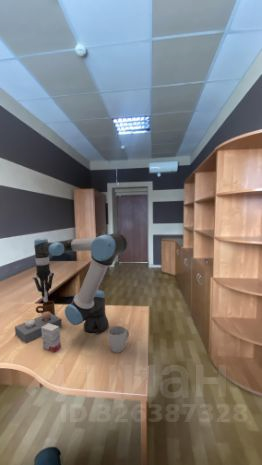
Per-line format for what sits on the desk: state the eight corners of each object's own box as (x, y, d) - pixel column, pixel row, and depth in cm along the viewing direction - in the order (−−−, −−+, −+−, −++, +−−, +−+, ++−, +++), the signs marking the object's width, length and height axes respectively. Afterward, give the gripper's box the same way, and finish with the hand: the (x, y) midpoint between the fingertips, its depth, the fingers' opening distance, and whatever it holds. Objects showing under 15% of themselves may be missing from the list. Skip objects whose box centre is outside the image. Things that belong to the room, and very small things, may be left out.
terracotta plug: (52, 324, 134) (51, 312, 134) (45, 327, 131) (44, 316, 130) (48, 321, 138) (47, 310, 137) (41, 325, 134) (40, 313, 133)
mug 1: (37, 322, 141) (36, 308, 140) (35, 317, 147) (34, 304, 146) (56, 316, 147) (55, 303, 146) (53, 312, 154) (52, 300, 153)
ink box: (61, 347, 113) (60, 326, 112) (53, 353, 109) (52, 330, 108) (49, 343, 117) (48, 322, 116) (42, 348, 113) (40, 326, 112)
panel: (61, 326, 134) (61, 319, 134) (25, 343, 118) (25, 334, 117) (50, 319, 143) (49, 312, 143) (15, 334, 127) (14, 326, 126)
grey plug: (37, 332, 127) (36, 320, 126) (28, 336, 123) (27, 324, 122) (33, 330, 130) (32, 318, 129) (24, 333, 126) (23, 321, 126)
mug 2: (117, 356, 104) (116, 337, 104) (105, 349, 111) (104, 330, 110) (134, 344, 114) (134, 326, 113) (122, 338, 120) (122, 321, 119)
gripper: (49, 261, 138) (52, 296, 140) (29, 265, 128) (32, 303, 130) (55, 262, 133) (58, 299, 135) (35, 267, 123) (38, 306, 125)
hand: (45, 301), depth 132 cm, fingers closed
